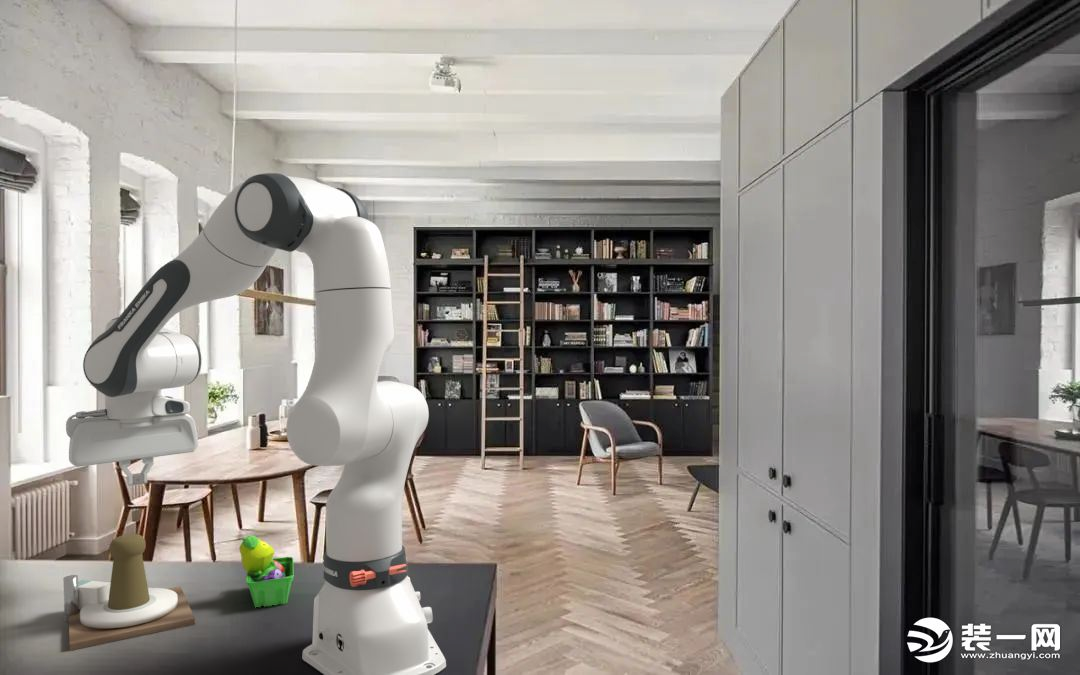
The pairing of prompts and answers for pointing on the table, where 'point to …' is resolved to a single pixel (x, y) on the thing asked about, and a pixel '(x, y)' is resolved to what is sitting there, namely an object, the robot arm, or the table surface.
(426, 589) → the table surface
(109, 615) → the white oval plate
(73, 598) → the dowel
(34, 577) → the table surface
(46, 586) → the table surface
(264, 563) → the fruit basket
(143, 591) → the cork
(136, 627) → the wooden board
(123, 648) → the table surface
